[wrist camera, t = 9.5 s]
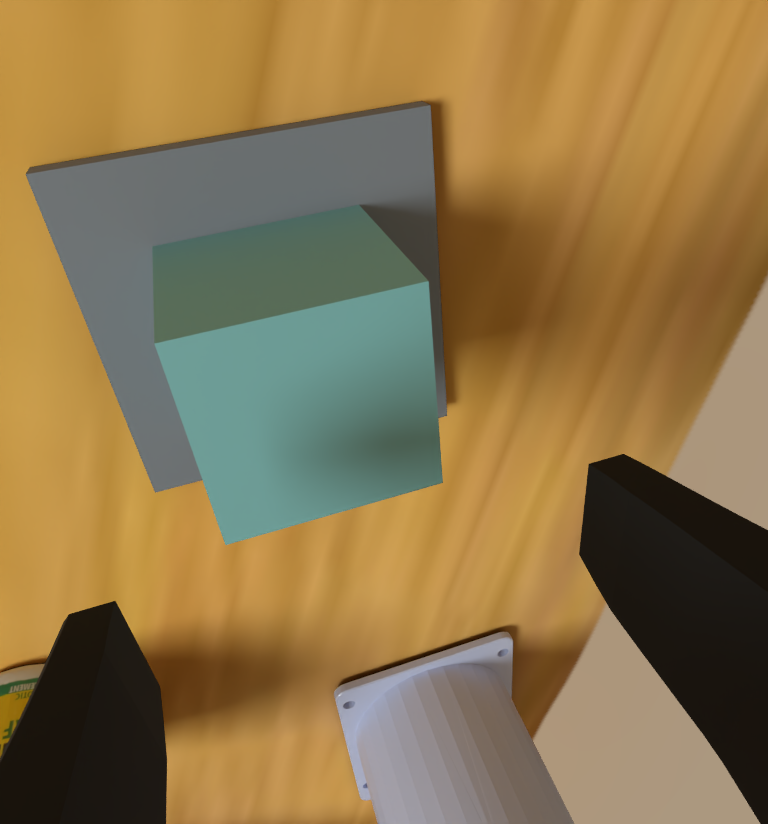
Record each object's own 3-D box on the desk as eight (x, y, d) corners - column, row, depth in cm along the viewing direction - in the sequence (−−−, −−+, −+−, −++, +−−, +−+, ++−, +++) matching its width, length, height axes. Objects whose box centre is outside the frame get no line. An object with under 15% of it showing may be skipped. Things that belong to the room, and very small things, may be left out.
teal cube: (380, 375, 19) (442, 482, 15) (208, 419, 18) (225, 545, 14) (358, 204, 16) (428, 281, 12) (152, 246, 15) (154, 343, 11)
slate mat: (440, 405, 21) (447, 415, 21) (154, 479, 19) (155, 492, 19) (421, 101, 16) (430, 105, 15) (29, 167, 14) (25, 174, 14)
